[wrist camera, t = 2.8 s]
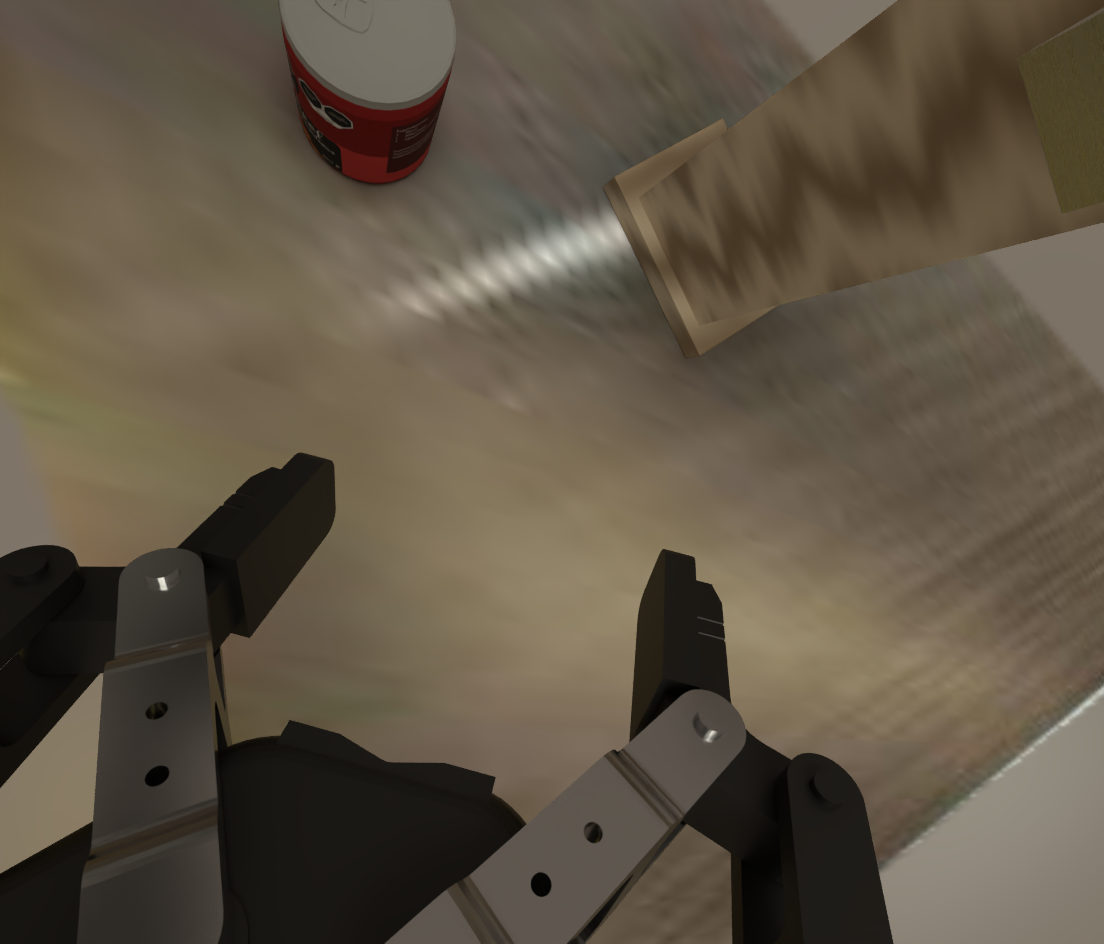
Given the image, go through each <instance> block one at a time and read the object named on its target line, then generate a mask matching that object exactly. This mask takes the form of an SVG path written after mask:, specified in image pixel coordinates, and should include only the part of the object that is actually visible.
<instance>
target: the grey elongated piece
mask: <svg viewBox="0 0 1104 944" xmlns="http://www.w3.org/2000/svg"><path fill="white" fill-rule="evenodd" d="M1017 61H1018V64H1019V68H1020V71H1021V75H1022V78H1023V82H1024V85H1025V89H1026V92H1027V96H1028V99H1029V103H1030V106H1031V109H1032V113H1033V116H1034V120H1035V123H1036V127H1037V130H1038V134H1039V137H1040V141H1041V144H1042V148H1043V151H1044V155H1045V158H1046V162H1047V165H1048V168H1049V172H1050V175H1051V179H1052V182H1053V186H1054V189H1055V193H1056V196H1057V200H1058V203H1059V207H1060V210H1061V214H1063V213H1066V212H1070V211H1073V210H1077V209H1080V208H1084V207H1087V206H1091V205H1095V204H1098V203H1102V202H1104V7H1103V8H1101V9H1100V10H1098V11H1096V12H1095V13H1093V14H1091V15H1089V16H1088V17H1086V18H1084V19H1083V20H1081V21H1079V22H1078V23H1076V24H1074V25H1073V26H1071V27H1069V28H1068V29H1066V30H1064V31H1062V32H1061V33H1059V34H1057V35H1056V36H1054V37H1052V38H1051V39H1049V40H1047V41H1046V42H1044V43H1042V44H1041V45H1039V46H1037V47H1035V48H1034V49H1032V50H1030V51H1029V52H1027V53H1025V54H1024V55H1022V56H1020V57H1019V58H1017Z"/></svg>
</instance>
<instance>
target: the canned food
mask: <svg viewBox="0 0 1104 944" xmlns="http://www.w3.org/2000/svg"><path fill="white" fill-rule="evenodd" d="M278 3H279V10H280V18H281V24H282V30H283V37H284V42H285V47H286V51H287V56H288V61H289V66H290V71H291V76H292V81H293V86H294V91H295V95H296V100H297V105H298V110H299V115H300V120H301V123H302V126H303V129H304V132H305V134H306V135H307V137H308V139H309V141H310V143H311V145H312V146H313V147H314V148H315V150H316V151H317V152H318V153H319V155H320V156H321V157H322V158H323V159H324V160H326V161H327V162H328V163H329V164H330V165H331V166H332V167H334V168H335V169H337V170H338V171H340V172H341V173H343V174H344V175H346V176H349V177H351V178H353V179H356V180H359V181H363V182H367V183H387V182H392V181H395V180H398V179H400V178H403V177H405V176H407V175H408V174H410V173H411V172H413V171H414V170H415V169H416V168H417V167H418V166H419V165H420V164H421V163H422V162H423V160H424V158H425V156H426V155H427V153H428V150H429V147H430V144H431V141H432V137H433V134H434V130H435V126H436V123H437V119H438V116H439V112H440V109H441V105H442V102H443V98H444V95H445V91H446V88H447V84H448V81H449V77H450V74H451V69H452V65H453V61H454V55H455V45H456V29H455V19H454V16H453V12H452V9H451V5H450V2H449V0H279V2H278Z"/></svg>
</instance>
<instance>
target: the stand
mask: <svg viewBox="0 0 1104 944" xmlns="http://www.w3.org/2000/svg"><path fill="white" fill-rule="evenodd" d="M1103 7H1104V0H898V1H897V2H895V3H894V4H893V5H891V6H890V7H889V8H887V9H886V10H885V11H883V12H882V13H881V14H879V15H878V16H877V17H875V18H874V19H873V20H871V21H870V22H869V23H868V24H866V25H865V26H864V27H862V28H861V29H860V30H858V31H857V32H856V33H854V34H853V35H852V36H851V37H849V38H848V39H847V40H845V41H844V42H843V43H841V44H840V45H839V46H837V47H836V48H835V49H833V50H832V51H831V52H830V53H828V54H827V55H826V56H824V57H823V58H822V59H820V60H819V61H818V62H816V63H815V64H814V65H812V66H811V67H810V68H809V69H807V70H806V71H805V72H803V73H802V74H801V75H799V76H798V77H797V78H795V79H794V80H793V81H791V82H790V83H789V84H788V85H786V86H785V87H784V88H782V89H781V90H780V91H778V92H777V93H776V94H774V95H773V96H772V97H771V98H769V99H768V100H767V101H765V102H764V103H763V104H761V105H760V106H759V107H757V108H756V109H755V110H753V111H752V112H751V113H750V114H748V115H747V116H746V117H744V118H743V119H742V120H740V121H739V122H738V123H736V124H735V125H734V126H732V127H731V128H730V129H729V130H728V129H727V127H726V124H725V122H724V119H721V120H719V121H717V122H716V123H714V124H712V125H710V126H708V127H706V128H704V129H703V130H701V131H699V132H697V133H695V134H693V135H691V136H690V137H688V138H686V139H684V140H682V141H680V142H678V143H677V144H675V145H673V146H671V147H669V148H667V149H665V150H663V151H662V152H660V153H658V154H656V155H654V156H652V157H650V158H649V159H647V160H645V161H643V162H641V163H639V164H637V165H636V166H634V167H632V168H630V169H628V170H626V171H624V172H623V173H621V174H619V175H617V176H615V177H614V178H613V179H612V180H610V181H609V182H608V183H607V184H606V185H605V186H604V187H603V188H604V190H605V192H606V194H607V196H608V198H609V200H610V203H611V205H612V207H613V209H614V211H615V213H616V215H617V217H618V219H619V221H620V223H621V225H622V227H623V229H624V231H625V234H626V236H627V238H628V240H629V242H630V244H631V246H632V248H633V250H634V252H635V254H636V256H637V258H638V260H639V262H640V265H641V267H642V269H643V271H644V273H645V275H646V277H647V279H648V281H649V283H650V285H651V287H652V289H653V291H654V293H655V296H656V298H657V300H658V302H659V304H660V306H661V308H662V310H663V312H664V314H665V316H666V318H667V320H668V322H669V324H670V327H671V329H672V331H673V333H674V335H675V337H676V339H677V341H678V343H679V345H680V347H681V349H682V351H683V353H684V355H685V358H690V357H696V356H700V355H702V354H703V353H705V352H707V351H708V350H710V349H711V348H713V347H714V346H716V345H717V344H719V343H721V342H722V341H724V340H725V339H727V338H728V337H730V336H731V335H733V334H734V333H736V332H738V331H739V330H741V329H742V328H744V327H745V326H747V325H748V324H750V323H752V322H753V321H755V320H756V319H758V318H759V317H761V316H762V315H764V314H765V313H767V312H769V311H770V310H772V309H773V308H775V307H776V306H778V305H781V304H785V303H789V302H793V301H797V300H801V299H805V298H809V297H813V296H817V295H821V294H824V293H828V292H832V291H836V290H840V289H844V288H848V287H852V286H856V285H860V284H864V283H868V282H872V281H875V280H879V279H883V278H887V277H891V276H895V275H899V274H903V273H907V272H911V271H915V270H919V269H923V268H926V267H930V266H934V265H938V264H942V263H946V262H950V261H954V260H958V259H962V258H966V257H970V256H974V255H977V254H981V253H985V252H989V251H993V250H997V249H1001V248H1005V247H1009V246H1013V245H1016V244H1020V243H1025V242H1028V241H1032V240H1036V239H1040V238H1044V237H1048V236H1052V235H1056V234H1060V233H1064V232H1068V231H1072V230H1075V229H1079V228H1083V227H1087V226H1091V225H1095V224H1099V223H1103V222H1104V202H1102V203H1098V204H1095V205H1091V206H1087V207H1084V208H1080V209H1077V210H1073V211H1070V212H1066V213H1063V214H1061V210H1060V207H1059V203H1058V200H1057V196H1056V193H1055V189H1054V186H1053V182H1052V179H1051V175H1050V172H1049V168H1048V165H1047V162H1046V158H1045V155H1044V151H1043V148H1042V144H1041V141H1040V137H1039V134H1038V130H1037V127H1036V123H1035V120H1034V116H1033V113H1032V109H1031V106H1030V103H1029V99H1028V96H1027V92H1026V89H1025V85H1024V82H1023V78H1022V75H1021V71H1020V68H1019V64H1018V61H1017V58H1019V57H1020V56H1022V55H1024V54H1025V53H1027V52H1029V51H1030V50H1032V49H1034V48H1035V47H1037V46H1039V45H1041V44H1042V43H1044V42H1046V41H1047V40H1049V39H1051V38H1052V37H1054V36H1056V35H1057V34H1059V33H1061V32H1062V31H1064V30H1066V29H1068V28H1069V27H1071V26H1073V25H1074V24H1076V23H1078V22H1079V21H1081V20H1083V19H1084V18H1086V17H1088V16H1089V15H1091V14H1093V13H1095V12H1096V11H1098V10H1100V9H1101V8H1103Z"/></svg>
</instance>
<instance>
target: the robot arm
mask: <svg viewBox="0 0 1104 944" xmlns="http://www.w3.org/2000/svg"><path fill="white" fill-rule="evenodd" d="M335 510H336V506H335V474H334V464H333V462H332V461H331V460H328V459H324V458H320V457H317V456H313V455H309V454H305V453H297V454H296V455H295V456H294V457H293V458H292V459H291V460H290V461H289V462H288V463H287V464H286V465H285V466H284V467H283V468H282V469H277V468H274V467H271V468H269V469H267V470H265V471H263V472H260V473H258V474H256V475H254V476H252V477H250V478H249V479H248V480H247V481H246V482H245V483H244V484H243V485H242V486H241V487H240V488H239V489H238V490H237V491H236V493H235V494H233V495H231V496H230V497H229V498H228V499H227V500H226V501H225V502H224V505H223V506H220V507H219V508H218V509H217V510H216V511H215V512H214V513H213V514H212V515H211V516H210V517H208V518H207V519H206V520H205V521H204V522H203V523H202V524H201V525H200V526H199V527H198V528H197V529H196V530H195V531H194V532H193V533H192V534H191V535H190V536H189V537H188V538H187V539H185V540H184V541H183V542H182V543H181V544H180V545H179V546H178V547H177V548H167V549H160V550H155V551H152V552H149V553H146V554H144V555H142V556H140V557H138V558H136V559H135V560H133V561H132V562H131V563H129V564H128V565H127V566H126V567H79V565H78V563H77V560H76V558H75V556H74V554H73V553H72V552H71V551H70V550H68V549H66V548H63V547H60V546H54V545H40V546H32V547H27V548H24V549H20V550H17V551H14V552H11V553H9V554H7V555H5V556H3V557H1V558H0V788H1V787H2V785H3V784H4V783H5V782H6V781H7V780H8V779H9V777H10V776H11V775H12V774H13V773H14V772H15V771H16V769H17V768H18V767H19V766H20V765H21V764H22V762H23V761H24V760H25V759H26V758H27V757H28V756H29V754H30V753H31V752H32V751H33V750H34V749H35V748H36V746H37V745H38V744H39V743H40V742H41V741H42V740H43V738H44V737H45V736H46V735H47V734H48V732H49V731H50V730H51V729H52V728H53V727H54V726H55V725H56V723H57V722H58V721H59V720H60V719H61V718H62V716H63V715H64V714H65V713H66V712H67V711H68V710H69V708H70V707H71V706H72V705H73V704H74V703H75V701H76V700H77V699H78V698H79V697H80V696H81V694H82V693H83V692H84V691H85V690H86V689H87V688H88V687H89V685H90V684H91V683H92V682H93V681H94V680H95V678H96V677H97V676H98V675H99V674H100V673H104V675H103V688H102V702H101V716H100V731H99V745H98V760H97V773H96V789H95V802H94V817H93V822H91V823H89V824H87V825H86V826H84V827H82V828H80V829H79V830H77V831H75V832H73V833H71V834H70V835H68V836H66V837H64V838H63V839H61V840H59V841H57V842H55V843H54V844H52V845H50V846H49V847H47V848H45V849H43V850H41V851H40V852H38V853H36V854H34V855H32V856H31V857H29V858H27V859H25V860H24V861H22V862H20V863H18V864H17V865H15V866H13V867H11V868H9V869H8V870H6V871H4V872H2V873H1V874H0V944H586V943H587V942H588V941H589V939H590V938H591V937H592V936H593V935H594V934H595V933H596V931H597V930H598V929H599V928H600V927H601V926H602V924H603V923H604V922H605V921H606V920H607V919H608V917H609V916H610V915H611V914H612V913H613V911H614V910H615V909H616V908H617V906H618V905H619V904H620V903H621V902H622V900H623V899H624V898H625V896H626V895H627V894H628V893H629V891H630V890H631V889H632V888H633V886H634V885H635V884H636V883H637V882H638V880H639V879H640V878H641V877H642V876H643V875H644V874H645V872H646V871H647V870H648V869H649V868H650V867H651V865H652V864H653V863H654V862H655V861H656V860H657V858H658V857H659V856H660V855H661V854H662V853H663V852H664V850H665V849H666V848H667V847H668V846H669V845H670V843H671V842H672V841H673V840H674V839H675V838H676V836H677V835H678V834H679V833H680V832H681V831H682V830H683V828H684V827H685V826H686V825H687V824H688V825H690V826H691V827H693V828H694V829H696V830H697V831H699V832H700V833H702V834H703V835H705V836H706V837H708V838H709V839H711V840H712V841H714V842H715V843H717V844H718V845H720V846H721V847H723V848H724V849H726V850H727V851H729V852H730V853H731V890H732V944H893V940H892V935H891V930H890V925H889V920H888V915H887V910H886V905H885V900H884V895H883V890H882V886H881V881H880V876H879V871H878V866H877V861H876V856H875V851H874V846H873V841H872V837H871V832H870V827H869V822H868V817H867V812H866V807H865V803H864V799H863V796H862V794H861V792H860V790H859V788H858V786H857V784H856V783H855V782H854V780H853V779H852V777H851V776H850V775H849V774H848V773H847V772H846V771H845V770H844V769H843V768H842V767H841V766H839V765H838V764H837V763H835V762H834V761H832V760H830V759H829V758H827V757H824V756H822V755H818V754H814V753H803V754H800V755H798V756H796V757H795V758H793V760H791V759H789V758H787V757H786V756H784V755H782V754H780V753H779V752H777V751H775V750H774V749H772V748H770V747H769V746H767V745H765V744H764V743H762V742H761V741H759V740H758V739H756V738H755V737H754V736H753V735H751V734H750V733H749V732H748V731H747V730H746V729H745V725H744V722H743V720H742V718H741V716H740V714H739V713H738V711H737V710H736V709H735V707H734V706H733V705H732V704H731V699H730V689H729V678H728V666H727V655H726V644H725V642H724V639H725V633H724V626H723V623H724V621H723V610H722V603H721V601H720V599H719V597H718V595H717V594H716V592H715V590H714V588H713V586H712V584H708V583H704V582H700V581H697V580H696V566H695V558H694V557H692V556H689V555H685V554H681V553H677V552H673V551H670V550H666V549H663V550H662V551H661V552H660V554H659V557H658V559H657V561H656V564H655V566H654V569H653V571H652V574H651V576H650V578H649V581H648V583H647V586H646V588H645V590H644V593H643V596H642V599H641V603H640V607H639V613H638V622H637V637H636V652H635V666H634V681H633V696H632V711H631V726H630V741H629V743H628V744H627V745H626V746H625V747H624V748H623V749H622V750H620V751H618V752H617V751H616V750H612V751H610V752H608V753H607V754H606V755H604V756H603V757H602V758H601V759H600V760H598V761H597V762H596V763H595V764H594V765H593V766H592V767H591V768H589V769H588V770H587V771H586V772H585V773H584V774H583V775H582V776H580V777H579V778H578V779H577V780H576V781H575V782H574V783H573V784H571V785H570V786H569V787H568V788H567V789H566V790H565V791H564V792H562V793H561V794H560V795H559V796H558V797H557V798H556V799H555V800H553V801H552V802H551V803H550V804H549V805H548V806H547V807H546V808H545V809H543V810H542V811H541V812H540V813H539V814H538V815H537V816H536V817H534V818H533V819H532V820H531V821H530V822H529V823H528V824H526V823H525V821H524V820H523V819H522V817H521V816H520V815H519V814H518V813H517V812H516V811H515V810H514V809H513V808H512V807H511V806H510V805H508V804H507V803H506V802H505V801H504V800H502V799H501V798H499V797H498V796H496V795H494V794H493V793H492V789H493V785H494V781H495V777H493V776H490V775H486V774H482V773H479V772H475V771H471V770H468V769H464V768H461V767H457V766H453V765H450V764H446V763H392V762H386V761H384V760H382V759H380V758H378V757H377V756H375V755H373V754H372V753H370V752H368V751H367V750H365V749H364V748H362V747H360V746H359V745H357V744H355V743H354V742H352V741H351V740H349V739H347V738H346V737H344V736H342V735H341V734H338V733H335V732H331V731H327V730H324V729H320V728H317V727H313V726H309V725H306V724H302V723H299V722H295V721H291V720H289V722H288V724H287V726H286V727H285V729H284V731H283V732H282V734H281V736H269V737H260V738H255V739H250V740H246V741H243V742H240V743H237V744H234V745H232V739H231V733H230V726H229V718H228V708H227V697H226V687H225V676H224V666H223V656H222V649H221V645H222V643H223V642H224V641H225V640H226V638H227V637H228V636H229V634H230V633H233V634H237V635H241V636H244V637H248V638H250V637H251V635H252V634H253V633H254V631H255V630H256V629H257V628H258V626H259V625H260V624H261V622H262V621H263V620H264V618H265V617H266V616H267V614H268V613H269V612H270V610H271V609H272V608H273V606H274V605H275V604H276V602H277V601H278V600H279V598H280V597H281V596H282V594H283V593H284V592H285V590H286V589H287V588H288V586H289V585H290V584H291V582H292V581H293V580H294V578H295V577H296V576H297V574H298V573H299V572H300V570H301V569H302V568H303V566H304V565H305V564H306V562H307V561H308V560H309V558H310V557H311V556H312V554H313V553H314V552H315V550H316V549H317V548H318V546H319V545H320V544H321V542H322V541H323V540H324V538H325V537H326V536H327V534H328V532H329V531H330V529H331V526H332V524H333V521H334V517H335ZM10 659H11V660H10ZM9 660H10V661H9ZM8 661H9V662H8ZM7 662H8V663H7ZM6 663H7V664H6ZM5 664H6V665H5ZM4 665H5V666H4ZM3 666H4V667H3ZM2 667H3V668H2ZM1 668H2V669H1Z"/></svg>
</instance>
